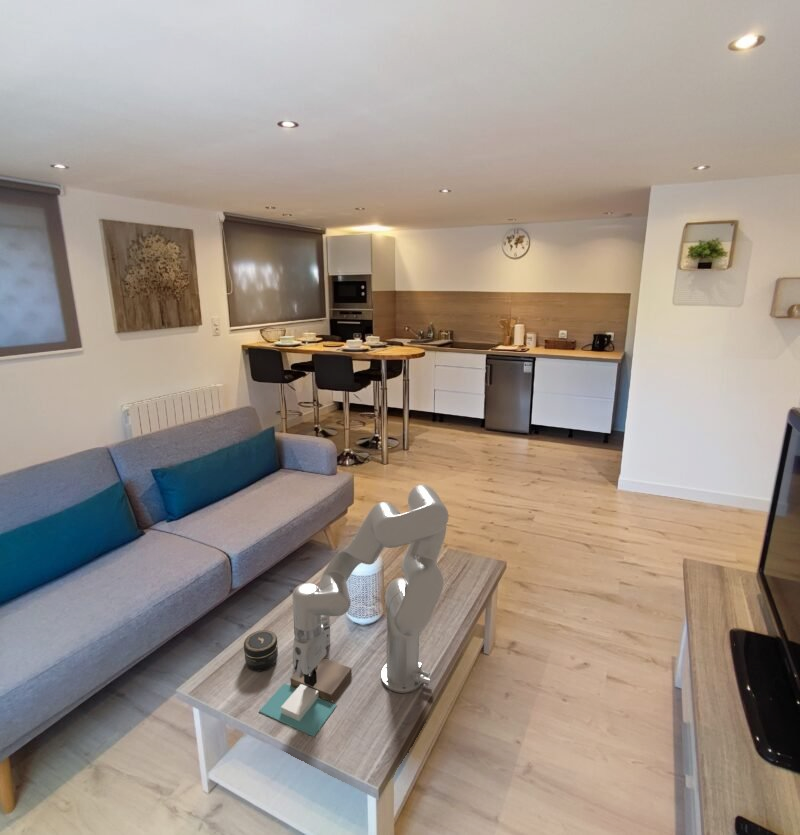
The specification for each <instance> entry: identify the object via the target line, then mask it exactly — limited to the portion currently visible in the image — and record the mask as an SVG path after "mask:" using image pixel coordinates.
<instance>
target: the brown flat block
mask: <svg viewBox="0 0 800 835" xmlns="http://www.w3.org/2000/svg"><path fill="white" fill-rule="evenodd" d="M296 674H297V670H295V672H294V673H293V674H292V676H291V677H290V678H289V679H290V686H292V687H294V688H298V687H299V686H300V684H303V685H305V686H307V687H310V688H312V689H315V690H317V691H318V693H319V697H318V698H321V699H323V700H325V701H328V702H330V703H332V702H333V701H334V699H335V698H336V697H337V695H338V694H339V693H340V691H341V690H342V689H343V688H344V687H345V685H346V683H347V682H348V681H349V679H350V678H351V676H352V674H353V673H352V667H349V666H346V665H344V664H341V663H339V662H336V661H334V660H330V659H327V658H326V657H324V658H323V659H322V660H321V661H320V662H319V664H318V668H317V670H316V676H317V683H316V684H315V685H314V686H313V687H312V686H310V685H307V684H305V683H304V676H303V677H302V678H298V677H296Z"/></svg>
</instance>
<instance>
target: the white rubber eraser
mask: <svg viewBox="0 0 800 835" xmlns="http://www.w3.org/2000/svg"><path fill="white" fill-rule="evenodd" d="M317 698H320V697H319V693H318V691H317V690H315V689H312V688H310V687H307V686H305V685H303V684H300V686H299V687H298V688H297V689H296V690H295V691H294V692H293V694H292V695H291V696H290V697H289V698H288V699H287V701H286V702H285V703H284V704H283V705H282V706H281V713H282V714H284V715H286V716H289V717H291V718H293V719H295V720H297V721H300V720H301V718H302V717H303V716H304V715H305V713H306V712H307V711H308V710H309V708H310V707H311V706H312V705H313V703H314V702H315V701H316V700H317Z"/></svg>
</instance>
